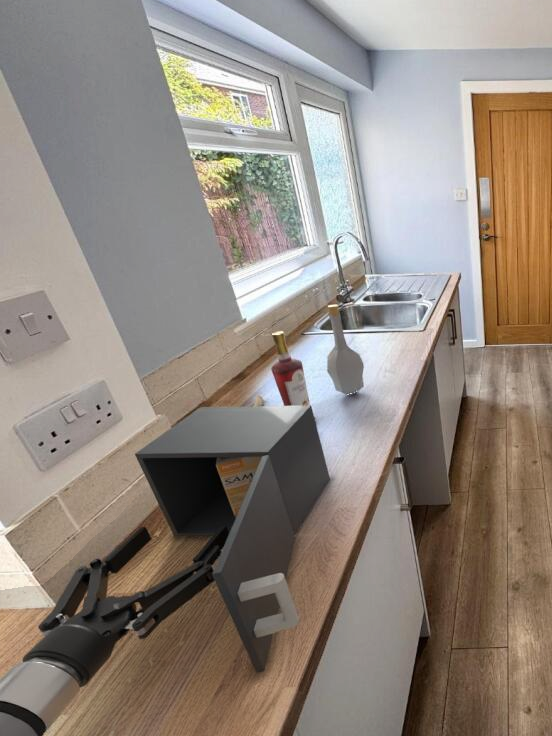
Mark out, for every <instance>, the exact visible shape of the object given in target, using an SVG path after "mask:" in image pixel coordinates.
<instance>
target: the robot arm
mask: <svg viewBox="0 0 552 736" xmlns="http://www.w3.org/2000/svg"><path fill="white" fill-rule="evenodd" d="M228 536H229V532H228V530H227V527H226V526H221V527H220V528H219V529H218V531H217V532H216V533H215V534H214V535H213V536H211V537H210V538H209V539H208V541H207V542H206V543H205V545H204V546H203V547H202V548H201V549H200V550H199V551H198V552H197V554H196V555H195V556H194V557H193V558H192V562H193V564H191V565H189V566H187V567H185V568H184V569H182V570H179V572H177V573H175V574H172V576H170V577H168V578H166V579H164V580H162V581H160V582H159V583H157V584H155V585H154V586H152V587H150V588H149V589H146V590H145V591H143V590H140V591H137V592H135V593H133V594H132V595H122V596H118V597H117V596H114V595H108V588H109V587H108V586H109V579H110V573H111V574H118V573H119V572H120V571H121V570H122V569H123V568H124V567H125V566H126V565H127V564H128V563H129V562H130V561H131V560H132V559H133V558H134V557H135V556H136V555H137V554H138V553H139V552H140V551H141V550H142V549H143V548H144V547H145V546H146V545H147V544H148V543H150V542H151V540H152V539H153V538H152V537H151V534H150V533H149V531H148V528H147V527H146V526H141V527H139V528H138V529H137V530H136V531H135V532H134V533H133V534H131V536H129V537H128V538H127V539H126V540H125V541H123V543H122V544H121V545H120V546H118V547H116V548H115V549H114V550H112V551H111V552H110V553H109V554H108V555H107V556H106V557H105V558H103V560H101V558H95V559H92V561H90V562H89V567H88V566H87V565H84V566H80V567H79V568H77V569H76V571H75V572H74V573H73V575H72V577H71V579H70V581H69V582H68V584H67V585H66V587H65V588H64V590H63V592H62V594H61V595H60V597H59V599H58V600H57V602H56V604H55V605H54V607H53V609H52V611H51V612H50V613H49V614H48V615H47V616H46V617H45V618H44V619H43V620H42V621H41V622H40V623H39V624H38V626H37V628H38V629H39V631H40V633H41V634H42V635H43V638H42V639H41V640H40V641H38V642H37V643H36V644H35V645H34V646H33V647H32V648H31V649H30V650H29V651H28V652H27V653H26V654H25V655H24V656H23V658H22V661H21V662H18V663H17V664H14V665H13V666H12V667H11V668H9V670H8V671H6V673H5V674H4V675H2V676H1V678H0V736H44V734H45V733H47V731H48V730H50V728H51V727H52V725H53V724H54V723H55V722H56V721H57V719H58V718H59V717H60V716H61V715H62V714H63V712H64V711H65V710H66V709H67V708H68V707H69V705H71V703H72V702H73V701H74V700H75V698H76V697H78V695H79V693H80V690H81V688H83V687H85V686H86V685H88V684H89V682H91V681H92V679H93V678H94V677H95V676H96V674H97V673H98V672H99V671H100V670H101V668H103V666H104V665H105V664H106V663H107V662H108V660H109V659H110V658H111V656H112V655H113V651H114V648H115V646H116V645H117V643H118V642H119V641H120V640H121V639H122V638H123V637H125V636H126V635H128V634H131V635H137V637H138V639H139V640H144V639H146V638H147V637H149V636H150V635H151V634H152V633H153V632H154V630H156V628H157V627H158V626H159V625H160V624H161V623H162V622H164V620H166V619H167V618H169V617H170V616H171V615H172V614H174V613H175V612H176V611H177V610H178V609H180V608H181V607H183V606H184V605H185V604H186V603H188V602H189V601H191V600H192V599H193V598H195V596H197V595H198V594H199V593H201V592H202V591H203V590H204V589H206V588H207V587H209V586H210V585H211V584H212V583H214V582H215V580H214V578H213V576H212V573H213V570H214V568H213V566H214V564H215V562H217V561H218V559H219V556H220V554H221V552H222V550H223V547H224V545H225V543H226V540H227V538H228ZM82 602H83V604H82V609H81V610H80V611H79V612H78V613H77V611H78V609H79V607H80V605H81V603H82ZM136 603H137V604H139V606H140V607H141V608H140V609H139V610H137V609H138V608H137V604H136Z"/></svg>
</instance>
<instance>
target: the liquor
mask: <svg viewBox="0 0 552 736" xmlns="http://www.w3.org/2000/svg"><path fill="white" fill-rule="evenodd" d="M271 336H272V339H273V342H274V344H275V347H276V352H277V353H276V354H277V359H278V361H276V362H274V364H273V365H272V366H271V369H270V370H271V373H272V375H273V378H274V381H275V384H276V387H277V390H278V393H279V395H280V397H281V400H282V403H283V406H306V405H311V403H310V397H309V393H308V387H307V381H306V377H305V372H304V371H305V370H304V366H303V362H302V360H300V359H297V358H292V357H291V354H290V351H289V349H288V346H287V344H286V336H285V332H284V331H275V332H273V333H272V334H271ZM314 418H315V419H316V417H315V416H314Z"/></svg>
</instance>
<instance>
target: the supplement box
mask: <svg viewBox="0 0 552 736" xmlns="http://www.w3.org/2000/svg"><path fill="white" fill-rule="evenodd" d="M261 459H262V457H217V461H216V467H217V470H218V473H219V475H220V478H221V481H222V484H223V486H224V489H225V491H226V494H227V497H228V500H229V502H230V505H231V508H232V510H233V513H234V516H237V515H238V512H239V510H240V508H241V505H242V503H243V501H244V498H245V496H246V494H247V491H248V489H249V487H250V484H251V482H252V480H253V477H254V475H255V473H256V470H257V468H258V466H259V463H260V461H261Z"/></svg>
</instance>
